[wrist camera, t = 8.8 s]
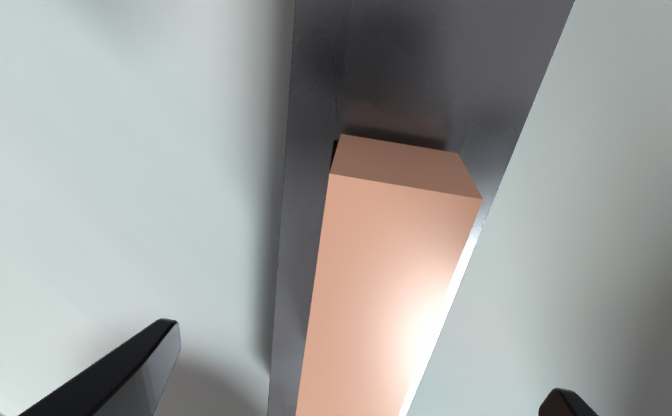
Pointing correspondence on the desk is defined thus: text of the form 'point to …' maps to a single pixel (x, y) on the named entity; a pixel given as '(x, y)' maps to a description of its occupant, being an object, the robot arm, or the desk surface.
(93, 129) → the desk surface
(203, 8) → the desk surface
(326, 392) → the peach rectangular block
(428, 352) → the rail
